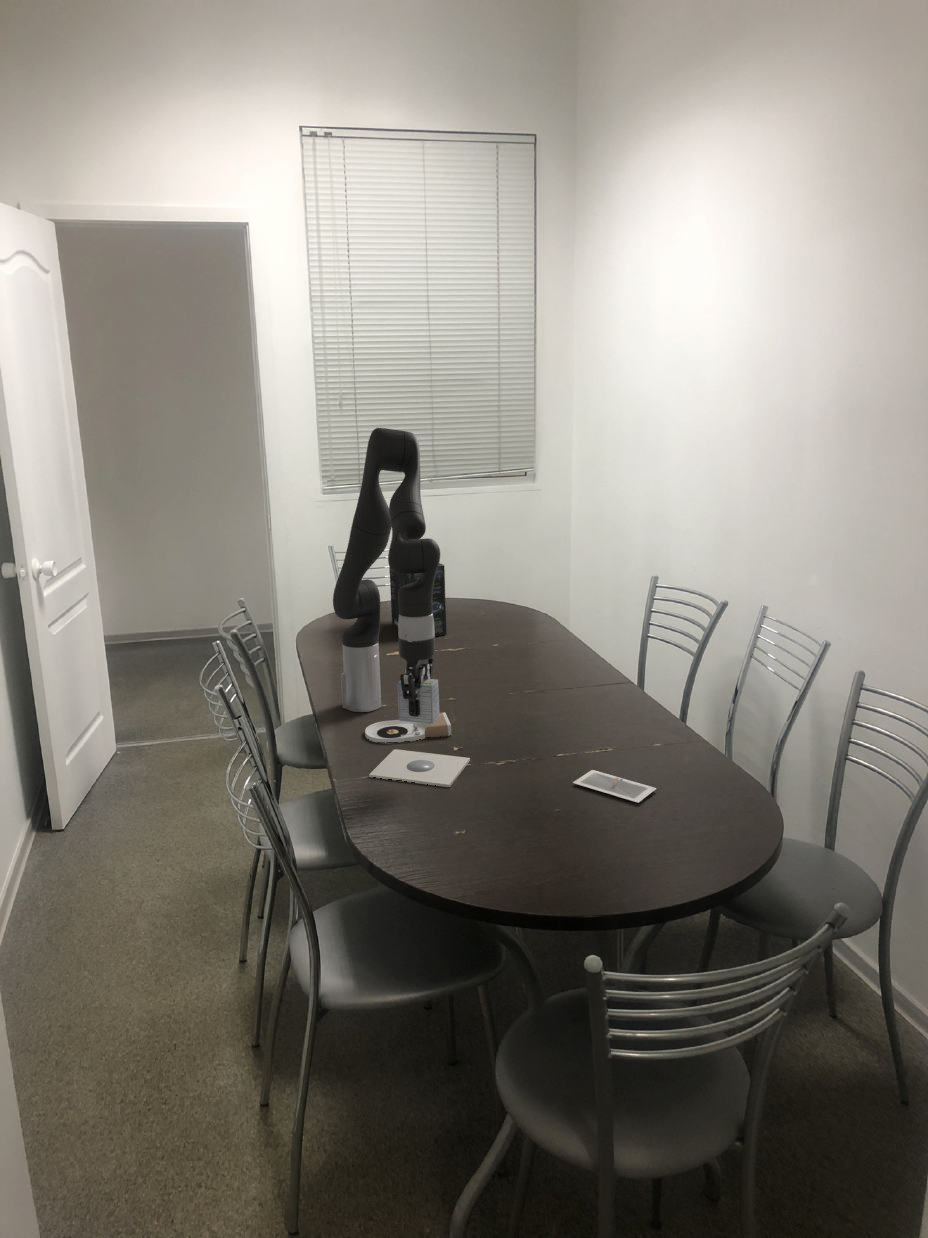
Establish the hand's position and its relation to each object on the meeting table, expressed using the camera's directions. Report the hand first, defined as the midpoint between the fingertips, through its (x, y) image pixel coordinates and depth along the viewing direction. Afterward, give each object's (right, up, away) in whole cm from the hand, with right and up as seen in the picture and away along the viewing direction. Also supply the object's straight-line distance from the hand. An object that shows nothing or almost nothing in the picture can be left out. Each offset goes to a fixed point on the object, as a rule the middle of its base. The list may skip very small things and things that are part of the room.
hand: (418, 711), depth 186 cm
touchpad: (+40, -16, -7) cm, 44 cm away
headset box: (-6, +16, +113) cm, 114 cm away
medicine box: (0, -2, +1) cm, 2 cm away
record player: (-4, -8, +24) cm, 25 cm away
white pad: (0, -13, +3) cm, 13 cm away
